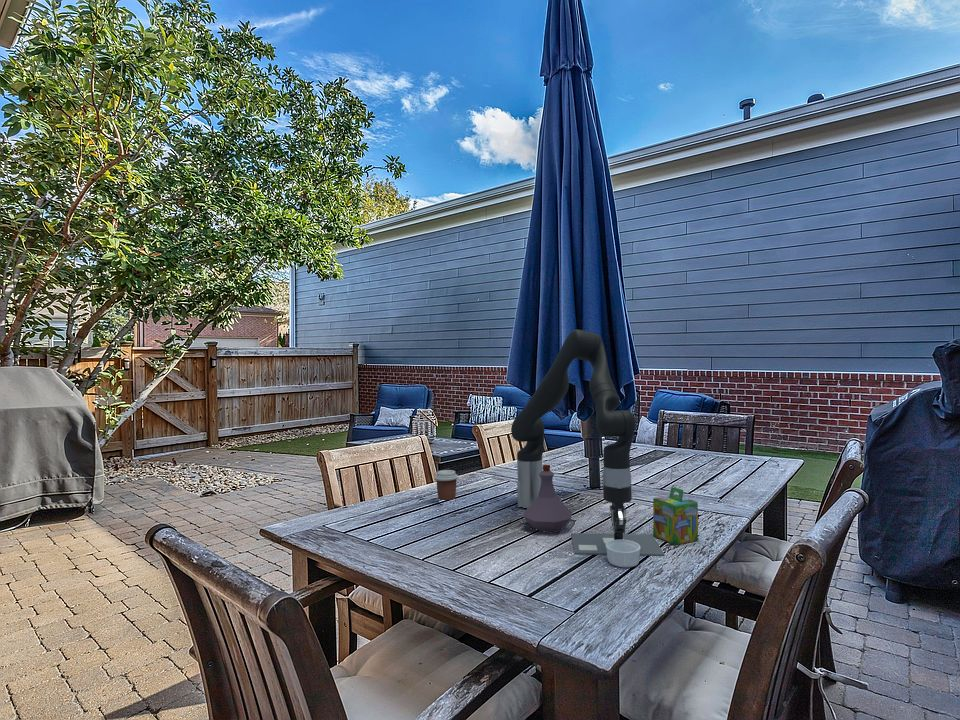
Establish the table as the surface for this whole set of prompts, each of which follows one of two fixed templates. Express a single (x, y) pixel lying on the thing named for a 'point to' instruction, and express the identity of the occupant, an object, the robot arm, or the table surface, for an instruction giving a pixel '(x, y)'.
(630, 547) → the ramekin
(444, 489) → the coffee cup
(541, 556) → the table surface
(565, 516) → the flask
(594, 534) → the label placard
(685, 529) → the chalk box
